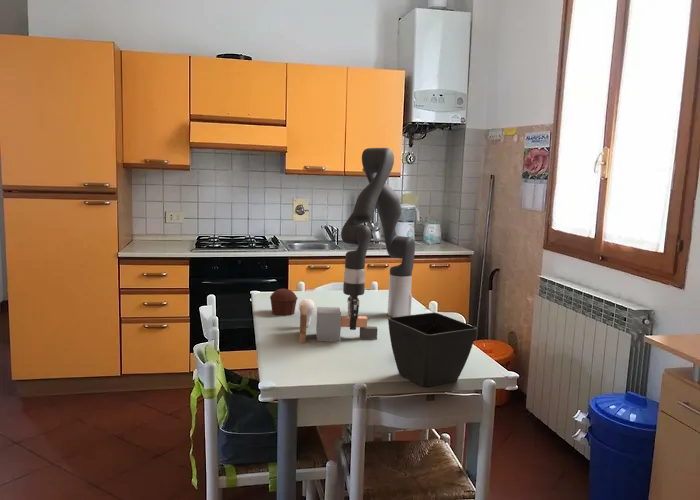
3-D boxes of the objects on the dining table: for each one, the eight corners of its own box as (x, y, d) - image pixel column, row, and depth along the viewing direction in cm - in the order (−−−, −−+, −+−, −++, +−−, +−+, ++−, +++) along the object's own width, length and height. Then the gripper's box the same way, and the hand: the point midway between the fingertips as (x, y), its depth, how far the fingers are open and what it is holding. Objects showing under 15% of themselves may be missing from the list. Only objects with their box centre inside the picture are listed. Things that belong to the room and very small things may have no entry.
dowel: (365, 324, 213) (366, 316, 212) (366, 327, 209) (367, 318, 209) (321, 324, 211) (321, 315, 210) (321, 326, 208) (322, 317, 207)
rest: (375, 337, 214) (376, 326, 213) (377, 339, 211) (377, 328, 210) (359, 336, 213) (359, 326, 212) (360, 339, 210) (360, 328, 210)
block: (338, 334, 215) (339, 307, 214) (340, 341, 206) (341, 313, 205) (316, 333, 215) (317, 306, 213) (317, 341, 206) (318, 313, 204)
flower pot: (474, 383, 171) (479, 326, 169) (424, 394, 161) (428, 334, 158) (431, 363, 187) (435, 311, 184) (383, 372, 176) (386, 317, 174)
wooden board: (305, 331, 217) (305, 305, 215) (305, 342, 203) (306, 314, 201) (299, 331, 216) (300, 305, 215) (299, 342, 203) (300, 314, 201)
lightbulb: (311, 330, 219) (312, 301, 218) (296, 328, 220) (296, 299, 219) (316, 326, 225) (317, 297, 223) (300, 324, 226) (301, 296, 225)
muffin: (264, 311, 244) (264, 288, 242) (287, 308, 250) (288, 285, 249) (279, 318, 234) (279, 293, 233) (302, 315, 241) (303, 291, 240)
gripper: (367, 284, 202) (365, 333, 204) (362, 277, 216) (360, 323, 218) (345, 284, 201) (343, 333, 203) (342, 276, 215) (340, 322, 217)
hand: (352, 327), depth 211 cm, fingers closed on dowel, 3 cm apart
